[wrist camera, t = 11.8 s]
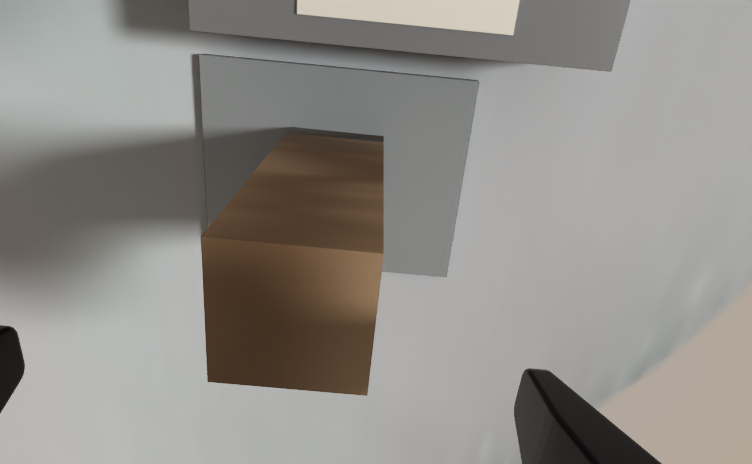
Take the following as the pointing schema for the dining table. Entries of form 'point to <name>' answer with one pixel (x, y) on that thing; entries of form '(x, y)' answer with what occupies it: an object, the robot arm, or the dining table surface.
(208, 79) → the slate mat
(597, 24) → the box
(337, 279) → the long wooden beam
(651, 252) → the dining table surface
